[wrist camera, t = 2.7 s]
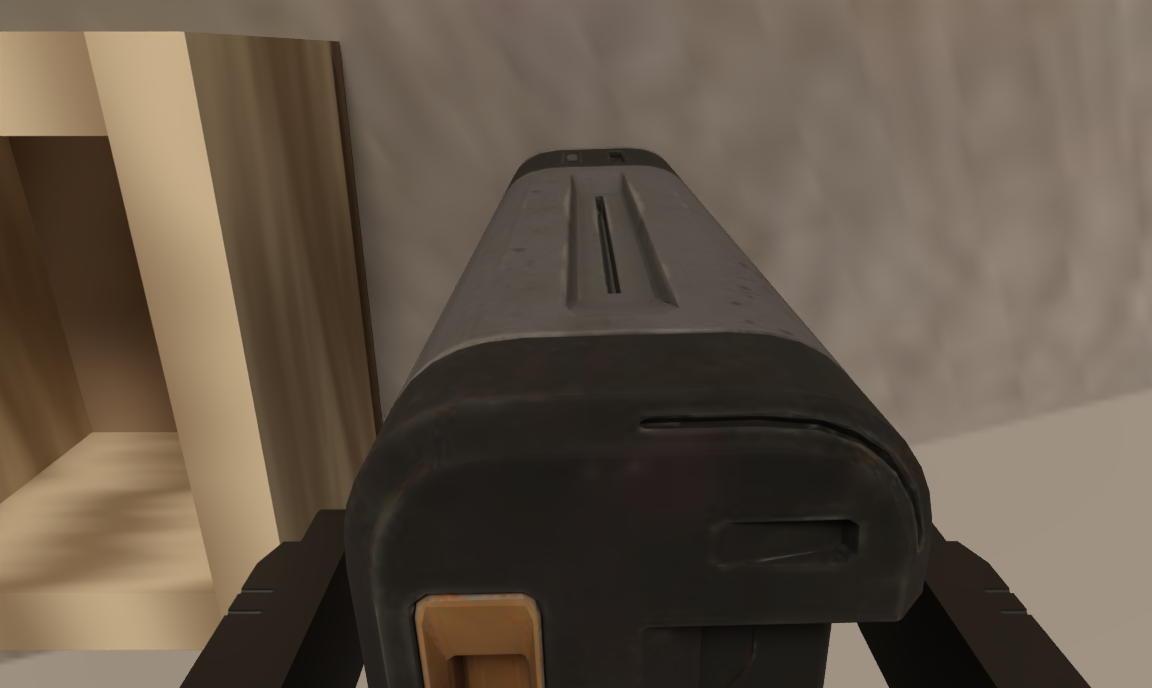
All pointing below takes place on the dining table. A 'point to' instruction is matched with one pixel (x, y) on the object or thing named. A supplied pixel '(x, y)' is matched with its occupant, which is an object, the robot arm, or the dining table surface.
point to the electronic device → (624, 462)
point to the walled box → (171, 326)
